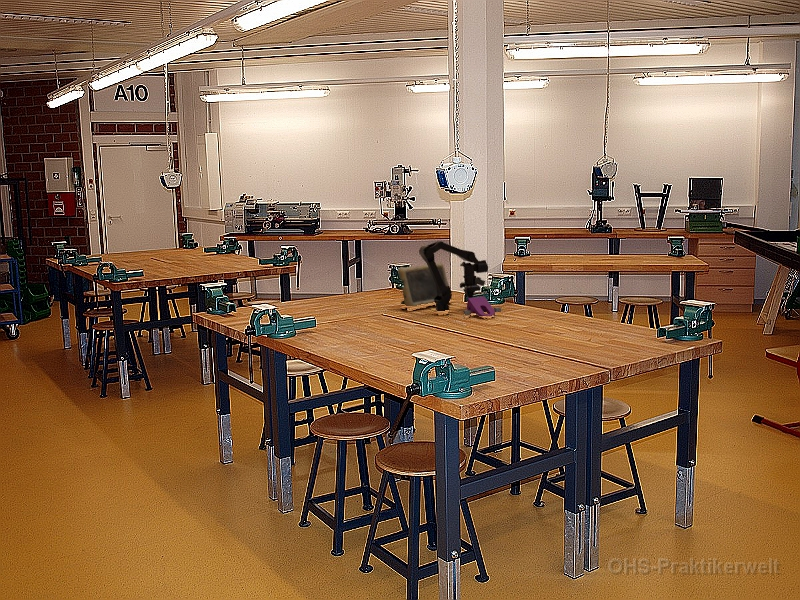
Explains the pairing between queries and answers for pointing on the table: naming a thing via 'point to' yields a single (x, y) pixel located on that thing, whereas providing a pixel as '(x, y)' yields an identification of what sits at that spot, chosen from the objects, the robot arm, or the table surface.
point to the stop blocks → (468, 312)
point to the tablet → (420, 284)
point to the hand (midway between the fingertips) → (470, 302)
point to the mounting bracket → (480, 306)
